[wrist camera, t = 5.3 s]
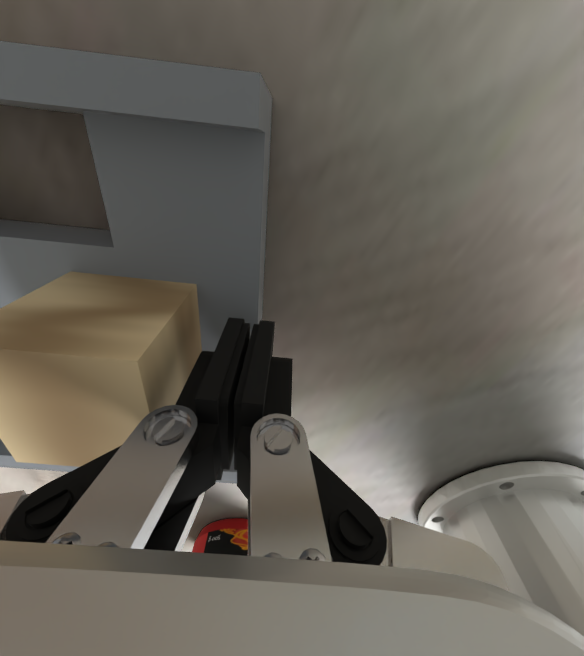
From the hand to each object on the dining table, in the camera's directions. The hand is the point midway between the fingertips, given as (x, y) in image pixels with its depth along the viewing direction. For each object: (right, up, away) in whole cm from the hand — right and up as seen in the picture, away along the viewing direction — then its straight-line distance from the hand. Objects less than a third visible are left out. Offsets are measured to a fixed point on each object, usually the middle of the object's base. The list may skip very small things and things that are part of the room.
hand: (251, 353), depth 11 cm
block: (-4, +1, +1) cm, 5 cm away
